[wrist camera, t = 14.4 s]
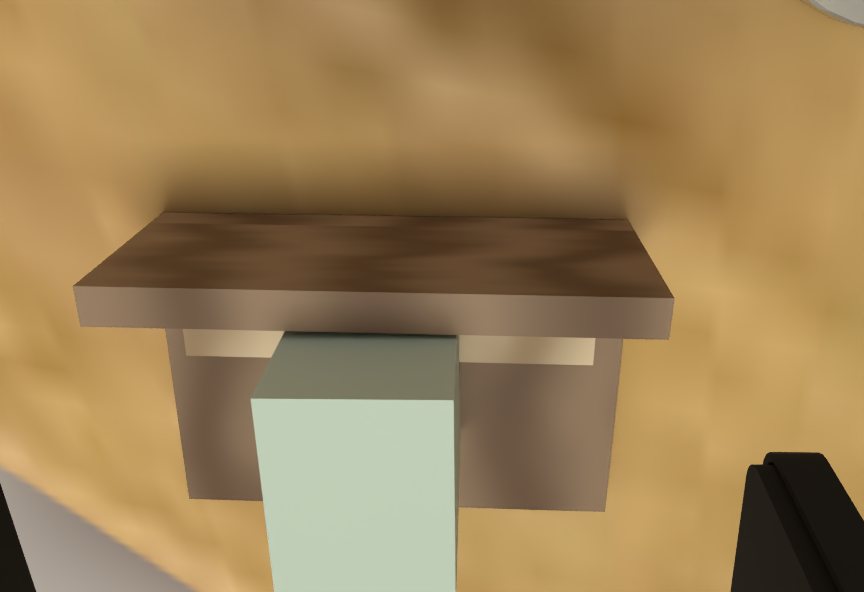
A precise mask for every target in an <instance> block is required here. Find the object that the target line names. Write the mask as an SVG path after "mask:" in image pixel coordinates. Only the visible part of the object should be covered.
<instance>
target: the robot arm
mask: <svg viewBox="0 0 864 592" xmlns="http://www.w3.org/2000/svg"><path fill="white" fill-rule="evenodd" d="M801 1H802V2H804V3H805V4H807V5H809V6H810V7H812V8H814V9H815V10H817V11H819V12H820V13H822V14H824V15H825V16H827V17H829V18H832V19H835V20H838V21H841V22H844V23H847V24H850V25H853V26H856V27H861V28H864V0H801ZM0 592H36V590H35V587H34V584H33V581H32V578H31V575H30V572H29V569H28V566H27V563H26V560H25V557H24V554H23V551H22V548H21V545H20V542H19V539H18V536H17V532H16V530H15V526H14V524H13V520H12V518H11V514H10V511H9V509H8V505H7V502H6V499H5V496H4V493H3V490H2V487H1V484H0ZM731 592H864V521H863V519H862V517H861V516H860V514H859V512H858V511H857V509H856V507H855V506H854V504H853V502H852V501H851V499H850V497H849V496H848V494H847V492H846V491H845V489H844V487H843V486H842V484H841V482H840V481H839V479H838V477H837V476H836V474H835V472H834V471H833V469H832V467H831V466H830V464H829V462H828V461H827V459H826V458H825V457H824V455H823V454H820V453H805V452H769V453H768V454H766V456H765V458H764V461H763V465H750V466H749V468H748V471H747V475H746V482H745V490H744V497H743V504H742V512H741V519H740V526H739V534H738V541H737V549H736V556H735V563H734V571H733V578H732V585H731Z"/></svg>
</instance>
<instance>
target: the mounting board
mask: <svg viewBox="0 0 864 592" xmlns="http://www.w3.org/2000/svg"><path fill="white" fill-rule="evenodd" d="M73 290H74V295H75V300H76V306H77V311H78V316H79V322H80V327H122V328H165V330H166V337H167V344H168V351H169V358H170V365H171V372H172V379H173V386H174V394H175V401H176V408H177V415H178V422H179V429H180V436H181V443H182V450H183V457H184V464H185V471H186V478H187V485H188V492H189V499H214V500H246V501H263V496H262V487H261V479H260V471H259V463H258V455H257V447H256V439H255V431H254V422H253V414H252V406H251V397H252V395H253V393H254V391H255V389H256V387H257V385H258V383H259V381H260V379H261V377H262V375H263V373H264V371H265V369H266V367H267V365H268V363H269V361H270V359H271V357H272V355H273V353H274V351H275V349H276V347H277V345H278V343H279V341H280V340H281V338H282V336H283V334H284V332H285V331H301V332H345V333H390V334H435V335H459V362H460V406H461V435H460V472H459V507H466V508H498V509H529V510H561V511H593V512H605V506H606V496H607V487H608V477H609V468H610V458H611V449H612V440H613V430H614V421H615V411H616V402H617V392H618V383H619V373H620V364H621V354H622V345H623V339H659V340H669V336H670V328H671V320H672V313H673V305H674V297H673V295H672V293H671V292H670V290H669V288H668V287H667V285H666V283H665V282H664V280H663V278H662V276H661V275H660V273H659V271H658V270H657V268H656V266H655V265H654V263H653V261H652V260H651V258H650V256H649V254H648V253H647V251H646V249H645V248H644V246H643V244H642V243H641V241H640V239H639V238H638V236H637V234H636V232H635V231H634V229H633V227H632V226H631V224H630V222H629V221H628V220H618V219H555V218H492V217H430V216H367V215H304V214H242V213H179V212H163V213H162V214H160V215H159V216H158V217H157V218H156V219H154V220H153V221H152V222H151V223H149V224H148V225H147V226H146V227H145V228H143V229H142V230H141V231H140V232H138V233H137V234H136V235H135V236H134V237H132V238H131V239H130V240H129V241H127V242H126V243H125V244H124V245H123V246H121V247H120V248H119V249H118V250H116V251H115V252H114V253H113V254H112V255H110V256H109V257H108V258H107V259H105V260H104V261H103V262H102V263H101V264H99V265H98V266H97V267H96V268H94V269H93V270H92V271H91V272H90V273H88V274H87V275H86V276H85V277H83V278H82V279H81V280H80V281H79V282H77V283H76V284H75V285H74V286H73Z"/></svg>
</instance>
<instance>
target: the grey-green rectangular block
mask: <svg viewBox="0 0 864 592" xmlns="http://www.w3.org/2000/svg"><path fill="white" fill-rule="evenodd" d="M251 406H252V414H253V422H254V431H255V439H256V447H257V455H258V463H259V471H260V479H261V487H262V496H263V504H264V512H265V520H266V528H267V536H268V544H269V552H270V561H271V569H272V577H273V585H274V592H456V581H457V545H458V508H459V472H460V435H461V406H460V362H459V335H435V334H390V333H345V332H301V331H285V332H284V334H283V336H282V338H281V340H280V341H279V343H278V345H277V347H276V349H275V351H274V353H273V355H272V357H271V359H270V361H269V363H268V365H267V367H266V369H265V371H264V373H263V375H262V377H261V379H260V381H259V383H258V385H257V387H256V389H255V391H254V393H253V395H252V397H251Z"/></svg>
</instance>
